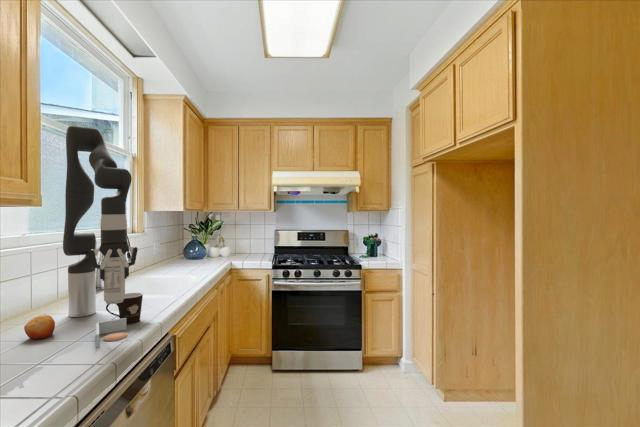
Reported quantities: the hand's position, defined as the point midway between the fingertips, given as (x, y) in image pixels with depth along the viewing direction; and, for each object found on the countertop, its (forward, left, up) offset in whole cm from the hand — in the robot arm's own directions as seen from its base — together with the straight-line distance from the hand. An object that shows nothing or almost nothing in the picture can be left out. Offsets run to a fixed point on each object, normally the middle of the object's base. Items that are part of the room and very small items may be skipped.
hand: (114, 279), depth 117 cm
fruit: (-14, -21, -19) cm, 32 cm away
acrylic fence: (0, -1, -19) cm, 19 cm away
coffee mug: (-16, +4, -19) cm, 25 cm away
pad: (0, 0, -19) cm, 19 cm away
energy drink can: (0, 0, -8) cm, 8 cm away
